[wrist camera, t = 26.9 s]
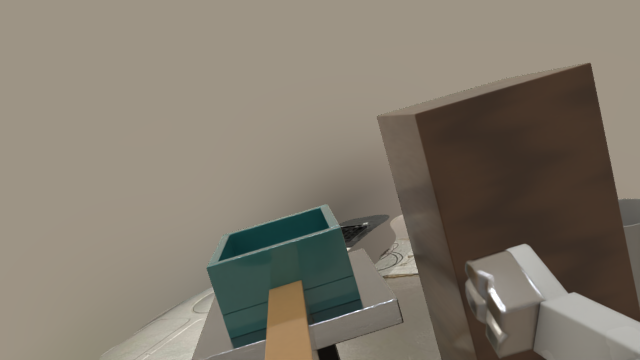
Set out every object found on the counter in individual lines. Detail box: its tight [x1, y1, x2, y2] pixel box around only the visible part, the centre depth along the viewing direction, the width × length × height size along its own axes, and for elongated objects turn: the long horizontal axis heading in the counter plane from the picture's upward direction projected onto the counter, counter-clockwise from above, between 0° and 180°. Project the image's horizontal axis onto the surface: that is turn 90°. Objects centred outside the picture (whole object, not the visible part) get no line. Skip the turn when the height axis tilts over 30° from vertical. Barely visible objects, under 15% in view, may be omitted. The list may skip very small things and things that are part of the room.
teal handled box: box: [207, 204, 361, 360], centre depth 26 cm, size 8×20×4 cm, turn 5°
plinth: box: [377, 63, 640, 360], centre depth 26 cm, size 10×8×26 cm
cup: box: [618, 199, 640, 306], centre depth 47 cm, size 8×8×10 cm
